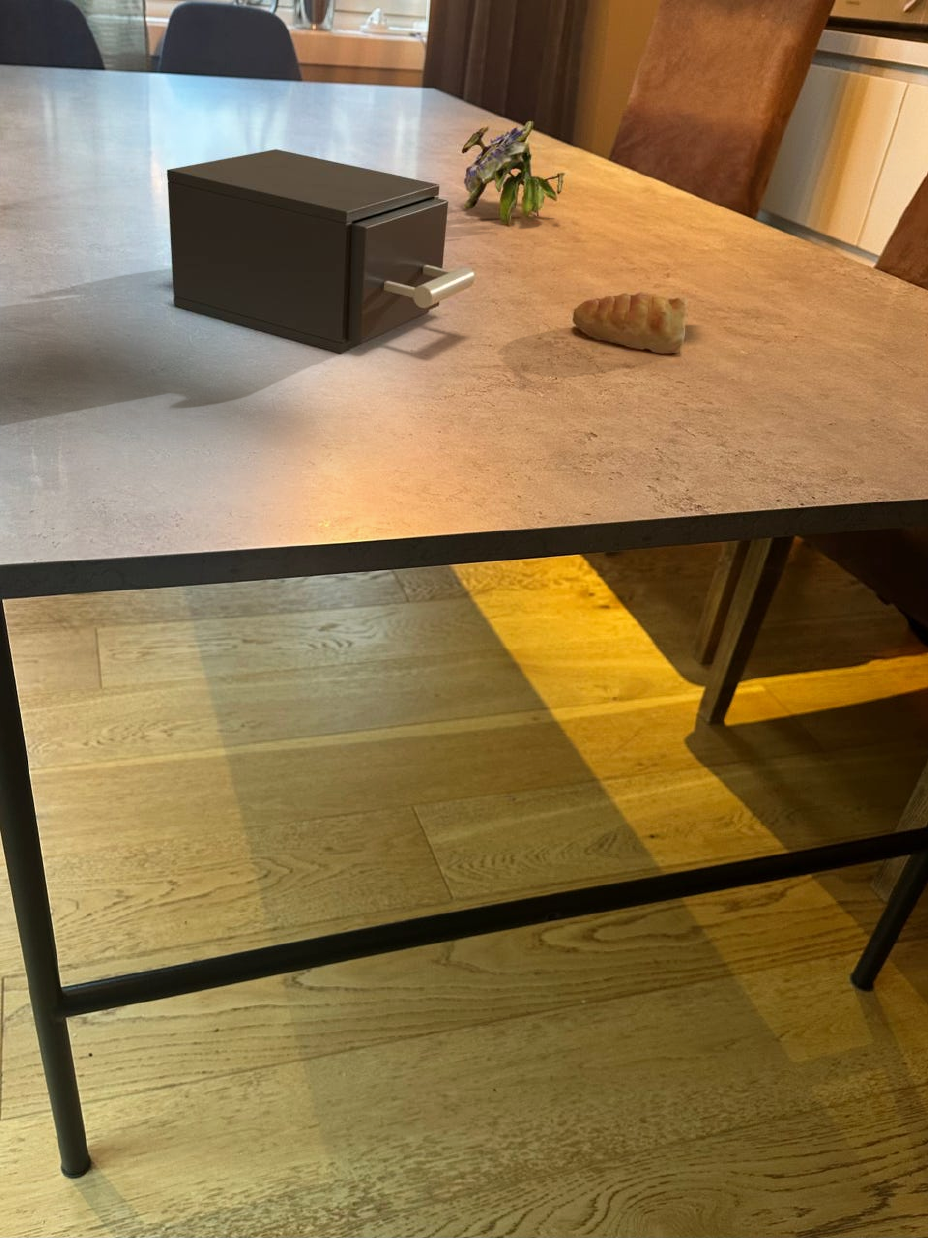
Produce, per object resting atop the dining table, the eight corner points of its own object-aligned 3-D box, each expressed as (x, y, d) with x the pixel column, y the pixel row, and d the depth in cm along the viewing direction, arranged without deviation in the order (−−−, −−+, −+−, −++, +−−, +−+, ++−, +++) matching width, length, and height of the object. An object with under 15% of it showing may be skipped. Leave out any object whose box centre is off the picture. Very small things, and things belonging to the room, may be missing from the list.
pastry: (568, 341, 85) (576, 294, 83) (572, 317, 91) (579, 272, 89) (684, 358, 84) (694, 311, 82) (680, 332, 90) (690, 288, 88)
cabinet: (429, 311, 88) (439, 184, 82) (341, 354, 77) (346, 211, 72) (275, 271, 93) (275, 148, 87) (173, 305, 83) (166, 169, 77)
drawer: (484, 317, 85) (496, 211, 81) (409, 357, 76) (418, 239, 71) (293, 267, 91) (294, 166, 87) (201, 299, 82) (197, 187, 77)
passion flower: (467, 256, 124) (451, 155, 124) (557, 244, 125) (542, 144, 125) (475, 219, 113) (458, 109, 112) (574, 206, 113) (557, 97, 113)
